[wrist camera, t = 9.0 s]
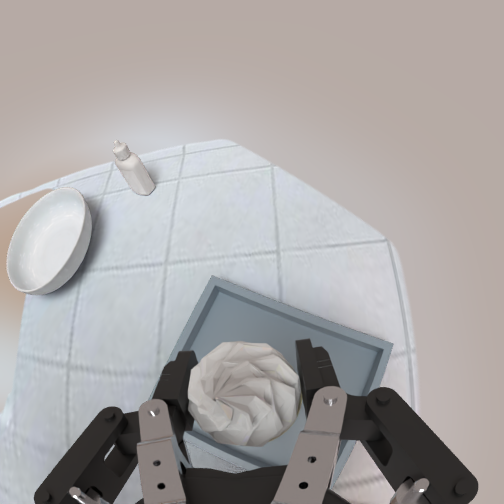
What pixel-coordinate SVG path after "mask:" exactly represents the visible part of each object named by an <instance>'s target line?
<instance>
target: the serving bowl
mask: <svg viewBox="0 0 504 504" xmlns="http://www.w3.org/2000/svg"><path fill="white" fill-rule="evenodd" d="M91 230H92V221H91V214H90V210H89V207H88V205H87V203H86V201H85V199H84V197H83V195H82V194H81V193H80V192H79V191H78V190H76V189H74V188H70V187H63V188H59V189H56V190H53V191H51V192H49V193H48V194H46V195H45V196H43V197H42V198H41V199H39V200H38V201H37V202H36V203H35V204H34V205H33V206H32V207H31V208H30V209H29V210H28V211H27V213H26V214H25V215H24V217H23V218H22V220H21V221H20V223H19V225H18V226H17V228H16V230H15V232H14V234H13V237H12V239H11V242H10V246H9V249H8V255H7V273H8V277H9V280H10V282H11V284H12V285H13V286H14V287H15V288H16V289H17V290H19V291H21V292H24V293H26V294H30V295H44V294H48V293H50V292H53V291H55V290H57V289H58V288H60V287H61V286H62V285H64V284H65V283H66V282H67V281H68V280H69V279H70V278H71V277H72V276H73V275H74V273H75V272H76V271H77V269H78V268H79V266H80V264H81V263H82V261H83V259H84V257H85V254H86V252H87V249H88V246H89V243H90V238H91Z"/></svg>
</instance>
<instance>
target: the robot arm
mask: <svg viewBox="0 0 504 504" xmlns="http://www.w3.org/2000/svg"><path fill="white" fill-rule="evenodd" d="M295 347H296V360H297V371H298V376H299V380H300V385H301V393H302V398H303V404H304V409H305V415H306V420H307V421H306V424H305V427H304V430H303V431H302V430H301V431H300V433H299V435H298V438H297V441H296V444H295V447H294V449H293V452H292V455H291V458H290V460H289V463H288V465H282V466H271V467H261V468H257V469H254V470H250V471H246V472H241V473H237V474H234V473H228V472H223V471H219V470H214V469H207V468H193V467H192V463H191V460H190V456H189V453H188V449H187V446H186V442H185V439H184V437H183V436H184V431H192V430H193V425H194V420H195V419H194V418H193V416H192V415H191V413H190V412H189V411H188V405H189V399H188V387H189V381H190V375H191V369H193V368H194V367H195V366H196V365H197V364H198V361H197V358H196V355H195V352H194V351H193V350H189V351H179V352H178V354H177V357H176V360H175V361H170V362H169V363H168V364H167V365H166V366H165V367H164V369H163V371H162V374H161V376H160V379H159V381H158V384H157V386H156V389H155V392H154V394H153V397H152V400H149V401H146V402H145V403H143V404H142V405H141V406H140V408H139V411H136V412H131V413H125V414H123V412H122V410H121V409H120V408H118V407H107V408H105V409H103V410H102V411H100V412H99V414H98V415H97V416H96V417H95V418H94V420H93V421H92V422H91V423H90V425H89V426H88V427H87V428H86V429H85V431H84V432H83V433H82V434H81V436H80V437H79V438H78V439H77V440H76V442H75V443H74V444H73V445H72V447H71V448H70V449H69V450H68V452H67V453H66V454H65V455H64V456H63V458H62V459H61V460H60V461H59V463H58V464H57V465H56V466H55V468H54V469H53V470H52V471H51V473H50V474H49V475H48V476H47V478H46V479H45V480H44V481H43V483H42V484H41V485H40V486H39V488H38V489H37V490H36V492H35V495H34V501H35V504H113V502H114V501H115V499H116V498H117V496H118V494H119V493H120V491H121V490H122V488H123V487H124V485H125V483H126V482H127V480H128V479H129V477H130V475H131V474H132V472H133V471H134V469H135V467H136V466H137V464H138V463H139V471H140V479H141V485H142V492H143V498H142V499H141V500H140V501H138V502H137V503H135V504H351V503H349V502H348V501H346V500H345V499H343V498H342V497H340V496H339V495H338V494H336V493H335V492H333V491H332V490H330V486H331V482H332V479H333V474H334V470H335V466H336V461H337V457H338V453H339V448H340V444H341V440H360V441H361V443H362V444H363V446H364V447H365V449H366V450H367V452H368V453H369V455H370V456H371V457H372V459H373V460H374V462H375V463H376V465H377V466H378V468H379V469H380V471H381V472H382V473H383V475H384V476H385V478H386V479H387V481H388V482H389V484H390V485H391V486H392V488H393V489H394V491H395V492H396V493H395V494H394V496H393V497H392V498H391V500H390V504H468V503H469V502H470V501H472V500H473V499H474V497H475V496H476V494H477V491H478V481H477V479H476V478H475V477H474V476H473V475H472V473H471V472H470V471H469V470H468V469H467V468H466V467H465V466H464V465H463V464H462V462H461V461H459V459H458V458H457V457H456V456H455V455H454V454H453V453H452V452H451V451H450V449H449V448H448V447H447V446H446V445H445V444H444V443H443V442H442V441H441V440H440V439H439V437H438V436H437V435H436V434H435V433H434V432H433V431H432V430H431V429H430V428H429V427H428V426H427V425H426V423H425V422H424V421H423V420H422V419H421V418H420V417H419V416H418V415H417V414H416V413H415V412H414V411H413V410H412V408H411V407H410V406H409V405H408V404H407V403H406V402H405V401H404V400H403V399H402V398H401V397H400V396H399V395H398V394H397V392H395V391H394V390H393V389H390V388H386V387H380V388H376V389H374V390H372V391H371V392H370V393H369V394H368V395H367V396H354V395H350V394H347V393H346V392H345V391H344V390H343V389H341V387H340V385H339V382H338V379H337V376H336V373H335V370H334V367H333V365H332V362H331V359H330V356H329V353H328V351H326V350H325V349H324V348H323V347H322V346H320V347H314V348H313V347H312V343H311V340H310V338H307V339H301V340H295ZM113 444H114V445H115V447H114V448H113V450H112V451H111V452H110V454H109V455H108V457H107V458H106V459H105V461H104V458H105V455H106V454H107V453H108V451H109V450H110V448H111V447H112V446H113Z"/></svg>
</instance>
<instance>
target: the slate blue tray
mask: <svg viewBox="0 0 504 504" xmlns="http://www.w3.org/2000/svg"><path fill="white" fill-rule="evenodd" d="M307 338H310V340H311V343H312V347H313V348H314V347H320V346H322V347H323V348H324V349H325V350H326V351H328V353H329V356H330V359H331V362H332V365H333V367H334V370H335V373H336V376H337V379H338V382H339V385H340V387H341V389H343V390H344V391H345V392H346V393H347V394H350V395H354V396H367V395H368V394H369V393H370V392H371V391H372V390H374V389H376V388H379V386H380V383H381V381H382V378H383V375H384V372H385V369H386V366H387V363H388V360H389V357H390V354H391V351H392V347H393V343H390V342H387V341H384V340H381V339H378V338H375V337H372V336H369V335H367V334H364V333H361V332H358V331H355V330H352V329H350V328H347V327H344V326H341V325H339V324H336V323H333V322H330V321H328V320H325V319H322V318H319V317H317V316H314V315H311V314H309V313H306V312H303V311H301V310H298V309H295V308H293V307H290V306H288V305H285V304H282V303H280V302H277V301H275V300H272V299H270V298H267V297H264V296H262V295H259V294H257V293H254V292H252V291H249V290H247V289H244V288H242V287H239V286H237V285H234V284H232V283H230V282H227V281H225V280H222V279H220V278H217V277H215V276H213V275H212V276H211V278H210V280H209V282H208V284H207V286H206V287H205V289H204V291H203V293H202V295H201V297H200V299H199V301H198V303H197V305H196V306H195V308H194V310H193V312H192V314H191V316H190V318H189V320H188V322H187V324H186V326H185V328H184V330H183V332H182V334H181V336H180V338H179V339H178V341H177V343H176V345H175V347H174V349H173V351H172V353H171V355H170V357H169V359H168V361H167V363H166V365H167V364H168V363H169V362H170V361H175V360H176V357H177V354H178V352H179V351H189V350H193V351H194V352H195V355H196V358H197V361H198V364H199V363H200V361H201V359H202V358H203V357H205V356H206V355H207V354H208V353H210V352H211V351H212V350H214V349H215V348H216V347H217V346H219V345H220V344H221V343H223V342H235V341H243V342H248V343H267V344H268V345H270V346H271V347H273V348H274V349H275V350H277V351H278V352H280V353H281V354H282V355H283V356H284V358H285V359H286V360H287V362H288V363H289V364H290V365H291V366H292V367H293V369H294V370H295V372H296V373H297V375H298V371H297V360H296V347H295V340H301V339H307ZM166 365H165V366H166ZM161 374H162V373H161ZM160 376H161V375H160ZM159 379H160V377H159ZM159 379H158V381H159ZM158 381H157V383H156V385H155V387H154V389H153V391H152V393H151V395H150V398H149V400H152V397H153V394H154V392H155V389H156V386H157V384H158ZM149 400H148V401H149ZM306 421H307V420H306V415H305V409H304V404H303V398H302V404H301V409H300V412H299V415H298V417H297V418H296V420H295V422H294V424H293V425H292V426H291V427H290V428H289V429H288V430H287V431H286V432H285V433H284V434H283V435H281V436H280V437H278V438H276V439H274V440H273V441H270V442H267V443H266V444H265V445H264V446H263V447H254V446H242V445H230V444H222V443H217V442H216V441H215V440H214V439H213V438H212V437H211V435H210V434H209V433H207V432H205V431H203V430H202V429H201V428H200V426H199V425H198V423H197V422H196V421H195V420H194V425H193V430H192V431H184V436H183V437H184V439H185V441H187V442H189V443H191V444H193V445H194V446H196V447H198V448H200V449H202V450H204V451H206V452H208V453H210V454H212V455H214V456H216V457H218V458H220V459H223V460H225V461H227V462H229V463H231V464H234V465H236V466H238V467H241V468H243V469H245V470H248V471H250V470H254V469H257V468H261V467H271V466H282V465H288V463H289V460H290V458H291V455H292V452H293V449H294V447H295V444H296V441H297V438H298V435H299V433H300V431H301V430H302V431H303V430H304V427H305V424H306ZM356 441H357V440H341V444H340V448H339V453H338V457H337V461H336V466H335V470H334V474H333V479H332V482H331V486H330V490H331V489H332V487H333V485H334V484H335V482H336V480H337V478H338V476H339V475H340V473H341V471H342V469H343V467H344V465H345V463H346V461H347V460H348V458H349V456H350V454H351V452H352V450H353V448H354V445H355V443H356Z"/></svg>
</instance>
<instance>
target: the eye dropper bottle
mask: <svg viewBox="0 0 504 504" xmlns="http://www.w3.org/2000/svg"><path fill="white" fill-rule="evenodd" d="M114 144H115V147H114V149H113V152H114V154H115V156H116V157H117V158H116V159H115V164H116V166H117V168H118V169H119V171H120V172H121V174H122V176H123V177H124V179H125V180H126V182H127V183H128V185H129V186H130V188H131V189H132V191H133V192H135V193H136V194H139V195H149V194H150V193H151V192H152V191H153V190H154V188H155V185H154V183H153V181H152V180H151V178H150V176H149V174H148V172H147V171H146V169H145V167H144V165H143V163H142V162H141V160H140V158H139V157H138V156H137V155H135V154H134V153H132V152H130V151H129V149H128V147H127V145H126V143H120V142H119V141H118V140H115V141H114Z"/></svg>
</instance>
